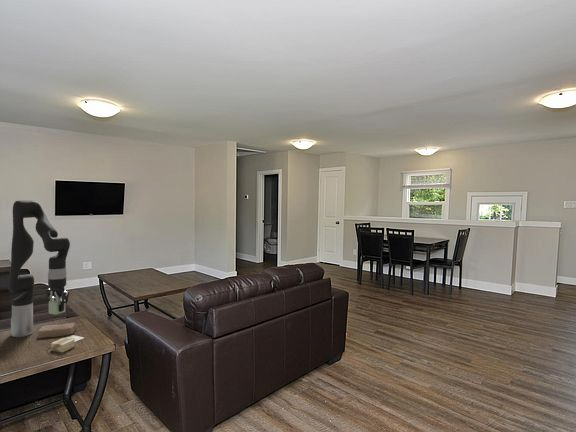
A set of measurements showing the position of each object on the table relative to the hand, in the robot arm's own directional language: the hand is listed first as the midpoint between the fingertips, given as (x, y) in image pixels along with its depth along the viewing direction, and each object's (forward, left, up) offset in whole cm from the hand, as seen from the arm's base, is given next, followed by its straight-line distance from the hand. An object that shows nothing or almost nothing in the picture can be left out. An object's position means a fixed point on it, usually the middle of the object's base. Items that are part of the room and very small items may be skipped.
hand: (57, 310), depth 168 cm
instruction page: (-5, +11, -20) cm, 23 cm away
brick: (-19, +14, -21) cm, 31 cm away
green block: (0, 0, -1) cm, 1 cm away
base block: (+1, +2, -20) cm, 20 cm away
